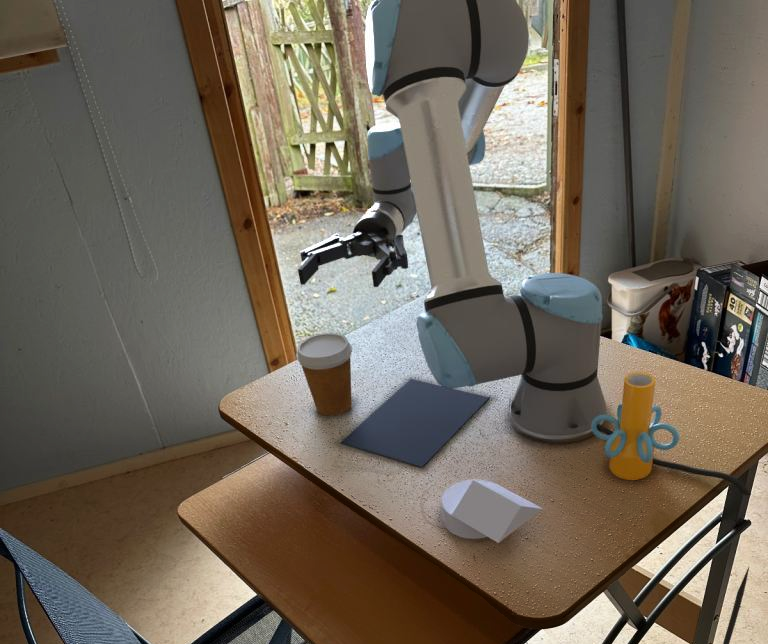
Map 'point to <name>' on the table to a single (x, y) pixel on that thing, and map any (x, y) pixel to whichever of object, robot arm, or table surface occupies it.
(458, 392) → the mat
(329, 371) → the disposable coffee cup
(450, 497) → the wedge on round base
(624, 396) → the yellow tube with rings
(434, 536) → the table surface
